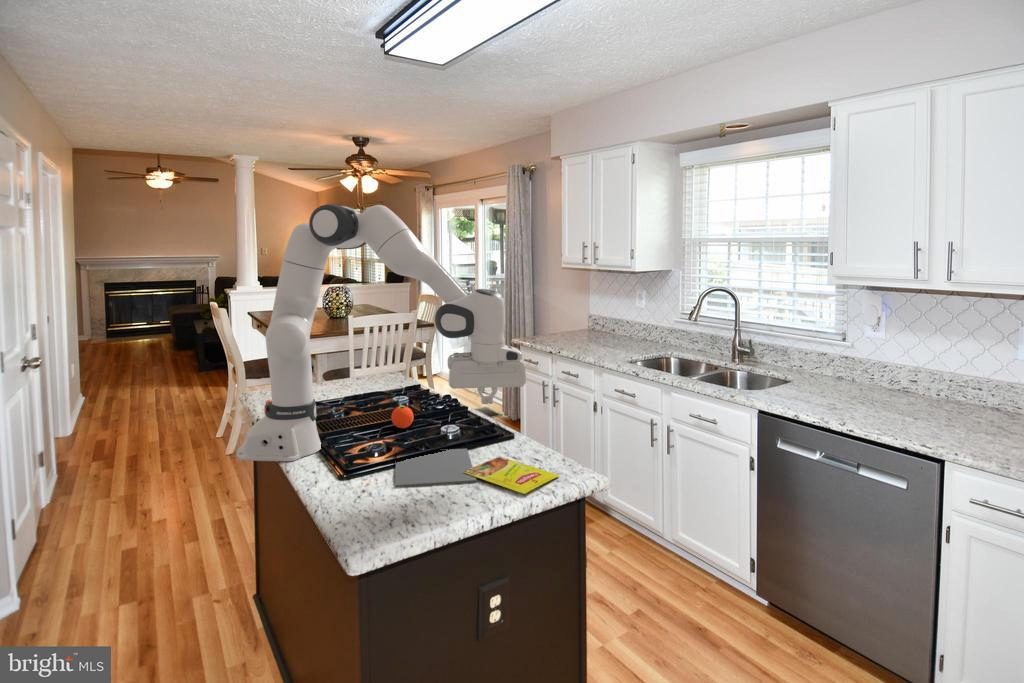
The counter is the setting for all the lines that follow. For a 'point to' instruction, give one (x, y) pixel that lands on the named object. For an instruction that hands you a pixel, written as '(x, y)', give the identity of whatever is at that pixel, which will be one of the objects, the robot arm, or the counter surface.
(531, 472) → the food package
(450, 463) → the mat
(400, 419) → the clementine
